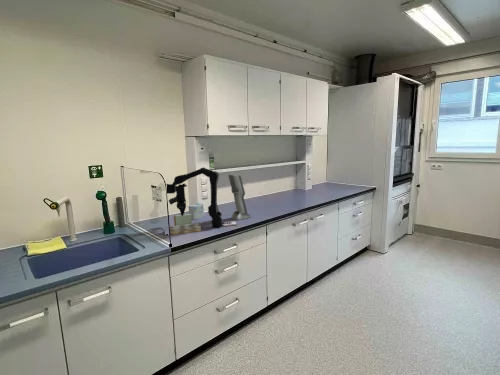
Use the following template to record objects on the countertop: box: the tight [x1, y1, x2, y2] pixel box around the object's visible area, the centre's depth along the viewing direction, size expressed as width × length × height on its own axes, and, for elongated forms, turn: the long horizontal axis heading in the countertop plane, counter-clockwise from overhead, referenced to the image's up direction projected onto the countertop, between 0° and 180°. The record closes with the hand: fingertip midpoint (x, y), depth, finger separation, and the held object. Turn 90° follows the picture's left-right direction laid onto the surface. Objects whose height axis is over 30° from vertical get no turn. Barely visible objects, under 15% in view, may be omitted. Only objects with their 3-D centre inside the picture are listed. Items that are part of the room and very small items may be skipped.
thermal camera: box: [228, 174, 251, 221], centre depth 210 cm, size 12×13×35 cm
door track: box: [169, 222, 202, 235], centre depth 184 cm, size 24×9×4 cm, turn 104°
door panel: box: [173, 213, 193, 226], centre depth 194 cm, size 12×2×9 cm, turn 104°
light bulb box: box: [187, 203, 205, 221], centre depth 218 cm, size 11×7×11 cm, turn 141°
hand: (182, 214), depth 193 cm, fingers open, 9 cm apart
